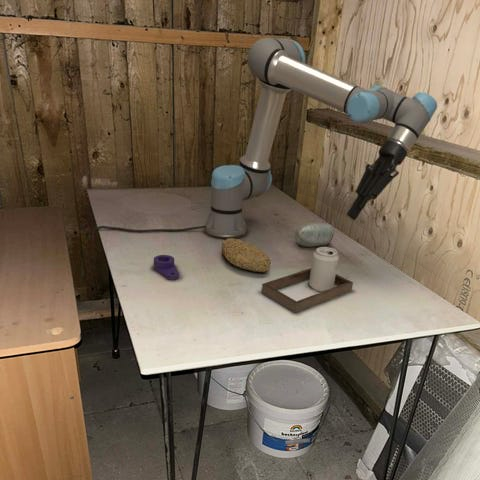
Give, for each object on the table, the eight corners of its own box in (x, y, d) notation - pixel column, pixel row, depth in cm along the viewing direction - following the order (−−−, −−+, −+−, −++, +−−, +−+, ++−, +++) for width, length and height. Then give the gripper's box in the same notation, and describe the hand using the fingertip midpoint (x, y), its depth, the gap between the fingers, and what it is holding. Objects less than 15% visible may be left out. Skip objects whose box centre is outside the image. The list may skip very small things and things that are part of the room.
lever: (151, 265, 150) (150, 256, 149) (169, 262, 153) (169, 253, 151) (165, 281, 141) (165, 272, 140) (184, 278, 144) (184, 268, 143)
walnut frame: (295, 313, 130) (296, 303, 129) (261, 292, 139) (262, 283, 138) (351, 291, 144) (353, 282, 142) (317, 274, 153) (318, 265, 151)
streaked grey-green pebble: (327, 229, 179) (329, 211, 170) (336, 249, 174) (339, 231, 166) (292, 238, 178) (293, 220, 169) (300, 258, 173) (301, 240, 165)
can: (332, 294, 141) (339, 257, 135) (307, 290, 142) (313, 253, 136) (333, 283, 147) (340, 247, 141) (309, 280, 148) (314, 244, 142)
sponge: (216, 258, 161) (232, 271, 143) (220, 235, 159) (237, 245, 141) (252, 262, 166) (272, 276, 148) (257, 240, 164) (277, 251, 146)
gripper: (419, 155, 134) (372, 228, 137) (390, 153, 145) (346, 219, 148) (403, 139, 130) (355, 214, 133) (375, 138, 141) (330, 207, 144)
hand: (350, 217), depth 140 cm, fingers closed
